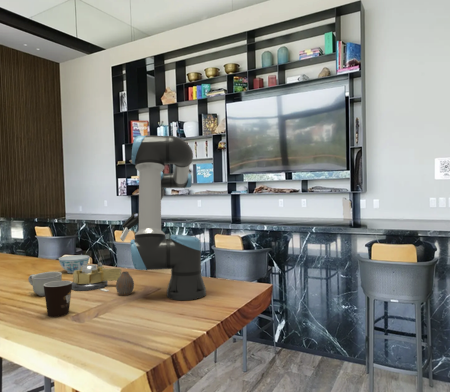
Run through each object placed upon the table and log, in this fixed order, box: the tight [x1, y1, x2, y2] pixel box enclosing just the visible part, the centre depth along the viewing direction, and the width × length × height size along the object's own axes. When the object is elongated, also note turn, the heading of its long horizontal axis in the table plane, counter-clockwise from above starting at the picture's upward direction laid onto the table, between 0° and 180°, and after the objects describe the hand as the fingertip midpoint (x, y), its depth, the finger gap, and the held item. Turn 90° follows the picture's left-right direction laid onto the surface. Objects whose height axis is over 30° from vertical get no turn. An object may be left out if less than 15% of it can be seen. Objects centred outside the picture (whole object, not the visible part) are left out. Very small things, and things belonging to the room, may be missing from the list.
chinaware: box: [58, 254, 90, 274], centre depth 187 cm, size 15×15×8 cm
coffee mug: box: [44, 280, 73, 318], centre depth 119 cm, size 12×9×10 cm
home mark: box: [98, 288, 110, 292], centre depth 147 cm, size 5×1×1 cm, turn 51°
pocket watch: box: [96, 257, 104, 269], centre depth 171 cm, size 8×8×10 cm
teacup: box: [28, 271, 63, 297], centre depth 144 cm, size 14×11×8 cm
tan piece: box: [72, 265, 122, 284], centre depth 155 cm, size 20×12×5 cm, turn 91°
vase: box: [115, 270, 135, 296], centre depth 141 cm, size 7×7×9 cm
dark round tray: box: [71, 264, 109, 292], centre depth 155 cm, size 15×15×9 cm
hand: (132, 239), depth 169 cm, fingers open, 11 cm apart
